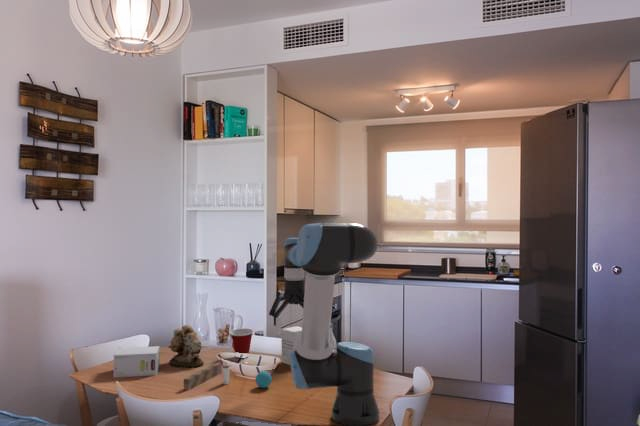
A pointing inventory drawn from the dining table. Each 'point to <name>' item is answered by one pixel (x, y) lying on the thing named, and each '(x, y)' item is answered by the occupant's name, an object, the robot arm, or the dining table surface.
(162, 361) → the dining table surface
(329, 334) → the robot arm
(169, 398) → the dining table surface
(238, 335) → the plastic cup
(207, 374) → the stopper wall
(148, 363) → the supplement box
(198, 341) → the brown lumpy figure
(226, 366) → the pin
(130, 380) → the dining table surface
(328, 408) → the dining table surface
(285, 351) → the supplement box
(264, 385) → the ball
